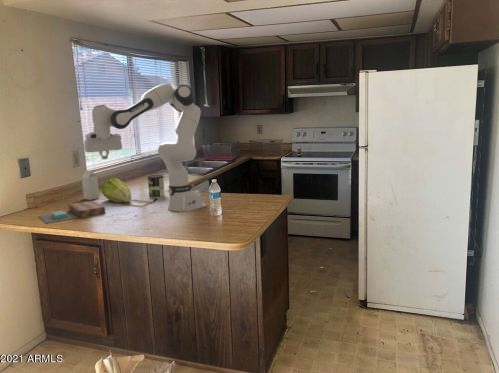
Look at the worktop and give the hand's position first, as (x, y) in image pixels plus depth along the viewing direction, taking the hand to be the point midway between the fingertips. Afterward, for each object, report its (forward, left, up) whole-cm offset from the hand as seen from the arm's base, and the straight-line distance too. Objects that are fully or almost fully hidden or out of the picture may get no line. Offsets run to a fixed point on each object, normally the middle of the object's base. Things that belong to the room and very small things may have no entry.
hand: (104, 159), depth 239 cm
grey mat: (+26, -10, -31) cm, 42 cm away
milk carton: (-4, -48, -31) cm, 57 cm away
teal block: (+25, -10, -29) cm, 39 cm away
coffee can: (-39, -21, -31) cm, 54 cm away
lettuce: (-15, -26, -31) cm, 43 cm away
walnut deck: (+10, -10, -31) cm, 34 cm away
